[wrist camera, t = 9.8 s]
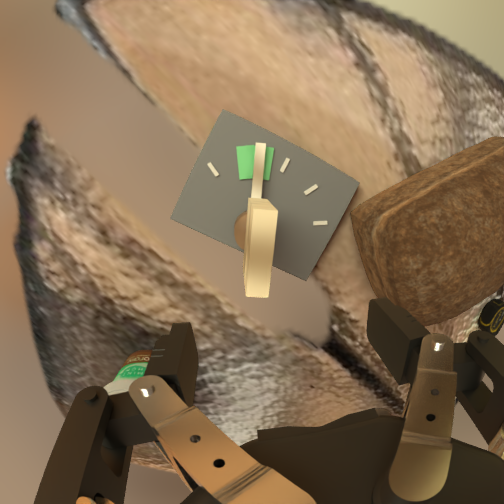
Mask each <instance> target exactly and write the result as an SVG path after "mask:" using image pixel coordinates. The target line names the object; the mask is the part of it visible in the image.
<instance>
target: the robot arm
mask: <svg viewBox="0 0 504 504" xmlns="http://www.w3.org/2000/svg"><path fill="white" fill-rule="evenodd" d="M367 337H368V340H369V342H370V343H371V345H372V346H373V348H374V349H375V351H376V352H377V354H378V355H379V356H380V358H381V359H382V361H383V362H384V364H385V365H386V367H387V368H388V370H389V371H390V373H391V374H392V376H393V377H394V378H395V380H396V381H397V383H398V384H399V385H402V384H406V383H410V384H411V385H410V388H409V392H408V396H407V399H406V403H405V407H404V410H403V414H402V417H397V416H391V414H390V412H389V411H388V410H386V409H376V410H375V408H372V409H368V410H365V411H361V412H357V413H353V414H349V415H346V416H344V417H342V418H340V419H337V420H335V421H333V422H331V423H328V424H326V425H324V426H321V427H292V426H287V427H280V428H272V429H264V430H257V434H258V439H255V440H252V441H249V442H247V443H245V444H243V445H241V446H238V445H237V444H236V443H235V442H233V441H232V440H231V439H230V438H229V437H228V436H227V435H226V434H224V433H223V432H222V431H221V430H220V429H219V428H218V427H217V426H216V425H215V424H214V423H213V422H211V421H210V420H209V419H208V418H207V417H206V416H205V415H204V414H203V413H202V412H201V411H200V410H199V409H198V408H197V407H196V406H194V405H193V401H194V393H195V386H196V378H197V371H198V352H197V348H196V343H195V339H194V334H193V330H192V326H191V323H190V322H186V323H173V325H172V328H171V331H170V334H169V335H162V336H161V337H160V338H159V339H158V340H157V341H156V343H155V345H154V348H153V351H152V353H151V357H150V359H149V362H148V364H147V367H146V370H145V373H144V375H143V377H140V378H138V379H136V380H135V381H133V382H132V383H131V385H130V386H129V391H127V392H123V393H118V394H113V395H108V392H107V391H106V390H105V389H104V388H103V387H100V386H90V387H87V388H85V389H83V390H81V391H80V392H79V393H78V394H77V395H76V397H75V399H74V401H73V403H72V406H71V408H70V410H69V412H68V415H67V417H66V419H65V422H64V424H63V426H62V428H61V431H60V433H59V436H58V438H57V441H56V443H55V446H54V448H53V450H52V453H51V456H50V458H49V461H48V463H47V466H46V469H45V472H44V475H43V477H42V480H41V483H40V486H39V489H38V492H37V495H36V498H35V501H34V504H124V497H125V491H126V484H127V478H128V472H129V466H130V461H131V455H132V450H133V445H137V444H142V443H147V442H152V441H153V442H154V443H155V445H156V446H157V447H158V449H159V450H160V451H161V453H162V454H163V455H164V457H165V458H166V459H167V461H168V462H169V463H170V464H171V466H172V467H173V468H174V469H175V471H176V472H177V473H178V475H179V476H180V478H181V479H182V480H183V482H184V483H185V484H186V485H187V487H188V488H189V489H190V490H191V492H192V493H191V494H190V495H189V496H188V497H187V498H186V499H185V500H184V501H183V502H182V503H180V504H504V345H503V344H502V343H501V342H500V341H499V340H498V339H497V338H495V337H494V336H493V335H492V334H491V333H489V332H486V331H481V330H477V331H473V332H471V333H470V334H469V337H468V341H467V342H464V343H453V341H452V340H451V339H450V338H449V337H448V336H446V335H443V334H438V333H433V334H431V333H430V332H429V331H428V330H427V329H426V328H425V327H424V326H423V325H422V324H421V323H420V322H419V321H417V319H416V318H415V317H413V316H412V315H411V314H410V313H409V312H408V311H407V310H406V309H404V308H402V307H400V306H398V305H396V306H395V305H394V304H393V303H392V302H391V301H390V300H389V299H388V298H387V297H382V298H377V299H372V300H370V302H369V310H368V320H367ZM485 373H486V374H487V375H488V377H489V378H490V379H491V380H492V382H493V385H494V389H493V393H492V392H491V391H490V390H489V389H488V387H487V386H486V385H485V384H484V382H483V381H482V379H483V377H484V374H485ZM456 397H457V399H458V400H459V402H460V403H461V405H462V406H463V407H464V409H465V410H466V412H467V413H468V415H469V416H470V418H471V419H472V421H473V422H474V424H475V425H476V427H477V428H478V430H479V431H480V433H481V434H482V436H483V437H484V439H485V440H486V442H487V444H488V445H489V447H488V451H487V450H484V449H481V448H478V447H475V446H472V445H469V444H467V443H464V442H461V441H459V440H456V439H453V438H451V434H452V427H453V419H454V409H455V399H456Z"/></svg>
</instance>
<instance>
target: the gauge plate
mask: <svg viewBox="0 0 504 504" xmlns="http://www.w3.org/2000/svg"><path fill="white" fill-rule="evenodd" d="M256 143H266V150H265V161H264V172H263V183H262V194H261V199H268V200H269V202H270V203H271V204H272V205H273V206H274V207H275V208H276V209H277V210H278V215H277V225H276V234H275V244H274V253H273V262H272V266H274V267H277V268H278V269H281V270H283V271H285V272H287V273H289V274H292V275H294V276H296V277H299V278H300V279H303V280H305V281H306V280H307V279H308V277H309V275H310V273H311V272H312V270H313V268H314V266H315V265H316V263H317V261H318V259H319V258H320V256H321V254H322V252H323V251H324V249H325V247H326V245H327V243H328V242H329V240H330V238H331V236H332V234H333V232H334V231H335V229H336V227H337V225H338V223H339V221H340V220H341V218H342V216H343V214H344V212H345V210H346V208H347V206H348V204H349V203H350V201H351V199H352V197H353V195H354V193H355V191H356V189H357V187H358V185H359V182H358V181H356V180H355V179H353V178H351V177H350V176H348V175H347V174H345V173H343V172H342V171H340V170H338V169H337V168H335V167H333V166H332V165H330V164H328V163H327V162H325V161H323V160H321V159H320V158H318V157H316V156H314V155H313V154H311V153H309V152H307V151H306V150H304V149H302V148H300V147H298V146H296V145H295V144H293V143H291V142H289V141H287V140H285V139H283V138H281V137H280V136H278V135H276V134H274V133H272V132H270V131H268V130H266V129H264V128H262V127H260V126H258V125H256V124H254V123H252V122H250V121H247V120H245V119H243V118H241V117H239V116H237V115H235V114H232V113H230V112H228V111H226V110H224V109H223V110H222V112H221V114H220V115H219V117H218V119H217V121H216V123H215V125H214V127H213V129H212V131H211V133H210V135H209V137H208V139H207V140H206V142H205V144H204V146H203V148H202V151H201V153H200V155H199V157H198V159H197V161H196V163H195V165H194V167H193V169H192V171H191V173H190V176H189V178H188V180H187V182H186V184H185V186H184V188H183V191H182V193H181V195H180V197H179V200H178V202H177V204H176V207H175V209H174V211H173V214H172V216H171V219H172V220H174V221H176V222H178V223H181V224H183V225H185V226H187V227H189V228H191V229H194V230H196V231H198V232H200V233H202V234H205V235H207V236H209V237H211V238H213V239H215V240H217V241H220V242H222V243H224V244H226V245H228V246H231V247H233V248H235V249H237V250H239V251H241V252H244V250H243V249H241V248H240V247H239V246H238V244H237V242H236V240H235V236H234V224H235V221H236V219H237V217H238V216H239V215H240V214H241V213H242V212H244V211H246V210H248V198H251V191H252V179H253V168H254V157H255V145H256Z"/></svg>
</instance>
